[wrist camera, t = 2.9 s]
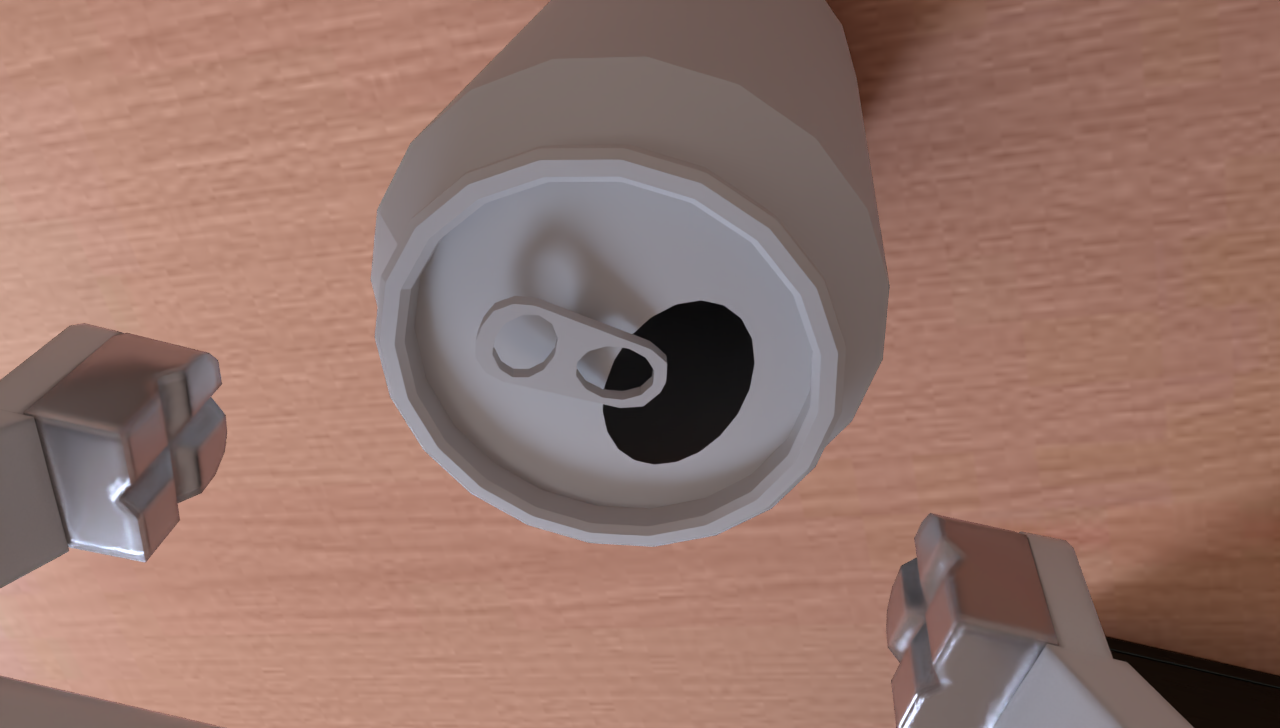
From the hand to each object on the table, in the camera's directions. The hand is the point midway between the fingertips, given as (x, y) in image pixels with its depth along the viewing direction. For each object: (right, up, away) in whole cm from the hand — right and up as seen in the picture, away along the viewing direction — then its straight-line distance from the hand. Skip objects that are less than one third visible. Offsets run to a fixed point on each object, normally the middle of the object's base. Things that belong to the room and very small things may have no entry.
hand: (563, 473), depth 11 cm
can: (+2, +8, +11) cm, 14 cm away
